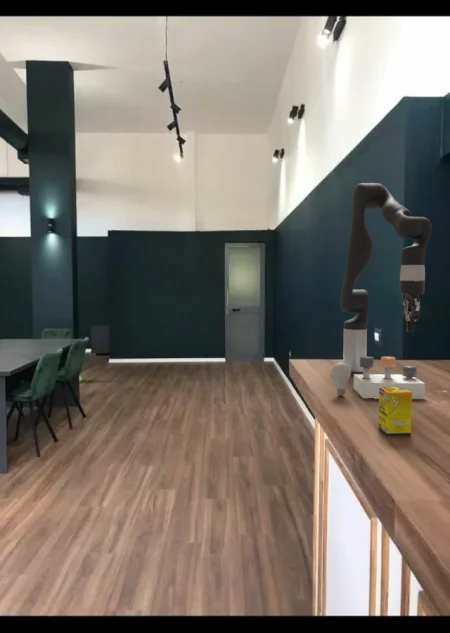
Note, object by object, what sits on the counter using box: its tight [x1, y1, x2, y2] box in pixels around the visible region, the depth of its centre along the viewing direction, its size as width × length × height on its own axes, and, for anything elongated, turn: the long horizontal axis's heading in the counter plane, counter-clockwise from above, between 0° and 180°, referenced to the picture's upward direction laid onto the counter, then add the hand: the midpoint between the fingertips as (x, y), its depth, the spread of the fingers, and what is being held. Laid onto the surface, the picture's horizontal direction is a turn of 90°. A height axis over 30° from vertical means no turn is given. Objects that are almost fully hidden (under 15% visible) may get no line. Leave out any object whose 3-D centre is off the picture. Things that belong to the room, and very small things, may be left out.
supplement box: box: [378, 387, 413, 438], centre depth 121 cm, size 6×6×11 cm
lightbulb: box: [331, 361, 352, 397], centre depth 158 cm, size 6×6×11 cm
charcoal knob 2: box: [401, 365, 418, 380], centre depth 161 cm, size 4×4×8 cm
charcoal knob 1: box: [360, 355, 375, 379], centre depth 161 cm, size 4×4×8 cm
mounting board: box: [353, 373, 426, 400], centre depth 161 cm, size 14×19×5 cm
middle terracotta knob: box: [380, 356, 396, 380], centre depth 161 cm, size 4×4×8 cm
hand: (410, 332), depth 160 cm, fingers closed
